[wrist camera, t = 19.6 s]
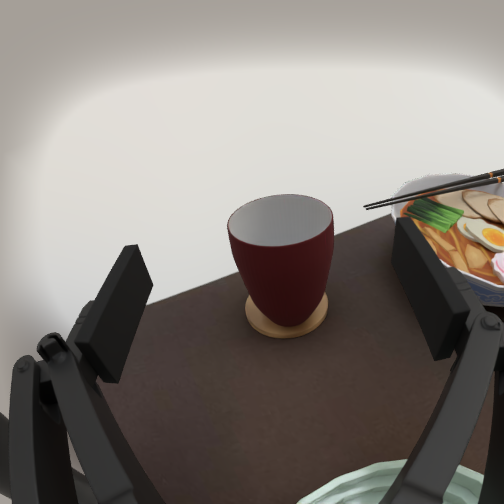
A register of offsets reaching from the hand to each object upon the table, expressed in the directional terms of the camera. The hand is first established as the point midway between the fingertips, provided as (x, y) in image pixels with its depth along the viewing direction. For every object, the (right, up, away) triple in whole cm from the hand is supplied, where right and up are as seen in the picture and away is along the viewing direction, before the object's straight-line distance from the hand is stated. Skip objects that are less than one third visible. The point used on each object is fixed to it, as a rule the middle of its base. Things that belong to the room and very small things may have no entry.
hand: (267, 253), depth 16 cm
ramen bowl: (+25, -2, +14) cm, 28 cm away
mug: (+3, -5, +15) cm, 16 cm away
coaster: (+3, -5, +15) cm, 16 cm away
